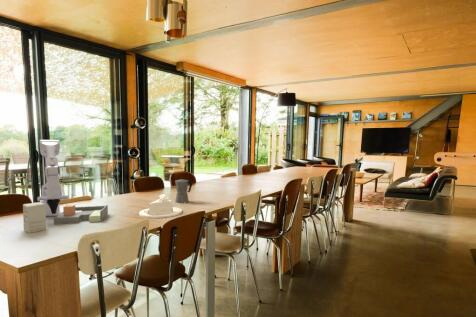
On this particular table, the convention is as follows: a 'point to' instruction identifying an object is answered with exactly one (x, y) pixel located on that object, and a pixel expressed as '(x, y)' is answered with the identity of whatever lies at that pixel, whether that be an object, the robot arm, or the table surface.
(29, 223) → the supplement box
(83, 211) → the board
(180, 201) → the coffeepot
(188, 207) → the table surface
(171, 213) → the dish
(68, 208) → the block
